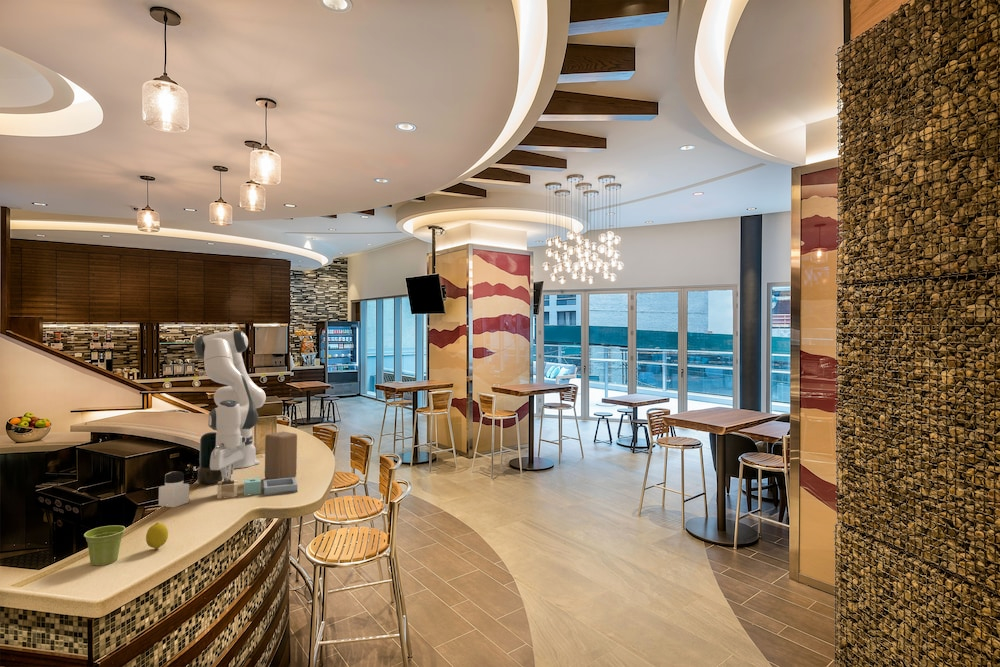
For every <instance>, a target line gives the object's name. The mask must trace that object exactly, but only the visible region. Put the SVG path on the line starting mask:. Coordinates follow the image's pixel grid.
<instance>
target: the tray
mask: <svg viewBox="0 0 1000 667" xmlns="http://www.w3.org/2000/svg"><path fill="white" fill-rule="evenodd" d="M262 482H263V483H262V488H263V493H264V494H263V495H264V496H273V495H282V494H290V493H291V494H292V493H298V482H297V480H296V476H295V477H292V478H282V479H272V480H270V479H264V480H262Z"/></svg>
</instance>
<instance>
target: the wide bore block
mask: <svg viewBox="0 0 1000 667" xmlns="http://www.w3.org/2000/svg"><path fill="white" fill-rule="evenodd" d="M232 496H237V497H238V479H231V484H226V485H224V480H222V481H219V482H218V484H217V496H216V497H217V498H221V499H225V498H224V497H230V498H233V497H232ZM217 498H216V499H217Z"/></svg>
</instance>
